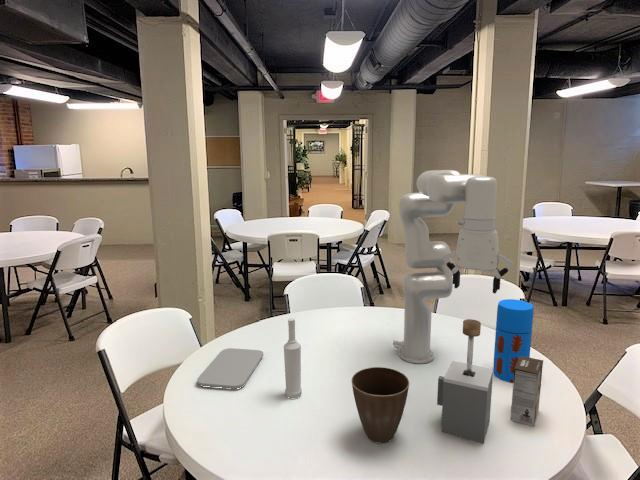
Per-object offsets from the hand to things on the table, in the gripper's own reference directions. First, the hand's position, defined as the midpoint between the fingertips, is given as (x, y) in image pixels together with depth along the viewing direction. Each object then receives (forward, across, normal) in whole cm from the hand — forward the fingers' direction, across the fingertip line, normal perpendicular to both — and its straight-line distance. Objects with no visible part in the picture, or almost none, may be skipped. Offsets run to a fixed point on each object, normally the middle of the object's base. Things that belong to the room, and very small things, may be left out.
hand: (475, 289), depth 120 cm
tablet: (+39, -78, -7) cm, 88 cm away
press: (+39, -2, -2) cm, 39 cm away
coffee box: (+39, +13, +11) cm, 43 cm away
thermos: (+39, +7, +34) cm, 52 cm away
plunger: (+27, 0, -2) cm, 27 cm away
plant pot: (+39, -20, -17) cm, 47 cm away
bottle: (+39, -51, -11) cm, 65 cm away
